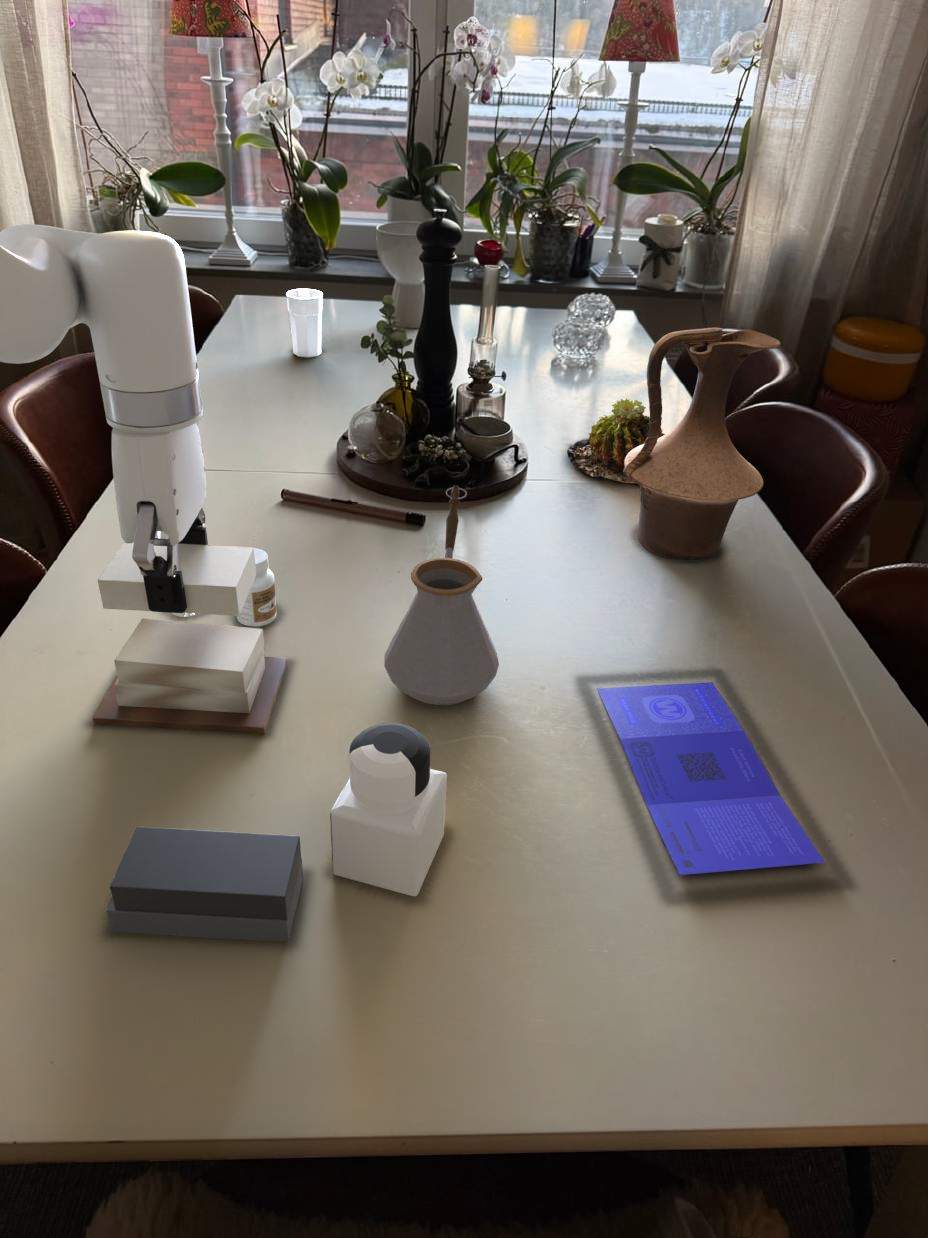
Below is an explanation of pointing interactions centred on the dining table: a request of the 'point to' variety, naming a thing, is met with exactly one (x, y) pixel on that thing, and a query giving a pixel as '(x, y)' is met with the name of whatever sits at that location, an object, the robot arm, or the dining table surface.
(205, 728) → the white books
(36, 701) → the dining table surface
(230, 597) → the white book
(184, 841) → the grey books
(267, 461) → the dining table surface
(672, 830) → the booklet
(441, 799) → the blocky figurine
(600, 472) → the cactus
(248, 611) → the pill bottle
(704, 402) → the pitcher
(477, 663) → the coffee pot
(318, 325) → the cup
